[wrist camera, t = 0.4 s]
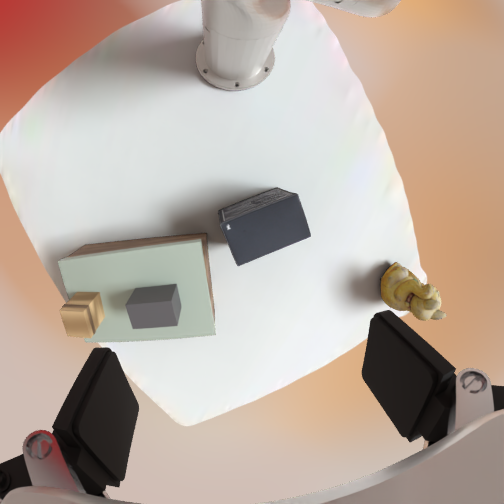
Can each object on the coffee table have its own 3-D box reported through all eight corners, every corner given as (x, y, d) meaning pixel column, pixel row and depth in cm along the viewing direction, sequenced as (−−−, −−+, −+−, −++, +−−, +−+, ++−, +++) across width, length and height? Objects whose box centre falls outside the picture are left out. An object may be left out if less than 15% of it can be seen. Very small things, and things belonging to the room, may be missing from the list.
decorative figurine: (413, 278, 52) (457, 308, 37) (390, 308, 53) (430, 344, 39) (391, 254, 49) (440, 282, 35) (366, 286, 50) (409, 323, 36)
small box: (232, 247, 44) (236, 269, 35) (216, 210, 42) (216, 222, 32) (291, 223, 45) (313, 238, 35) (278, 186, 42) (297, 191, 33)
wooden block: (77, 291, 33) (59, 310, 28) (99, 291, 34) (83, 311, 28) (83, 315, 35) (67, 336, 29) (105, 316, 35) (91, 338, 29)
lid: (62, 258, 33) (40, 273, 27) (201, 238, 35) (197, 253, 29) (88, 337, 37) (74, 360, 31) (215, 329, 39) (216, 355, 33)
